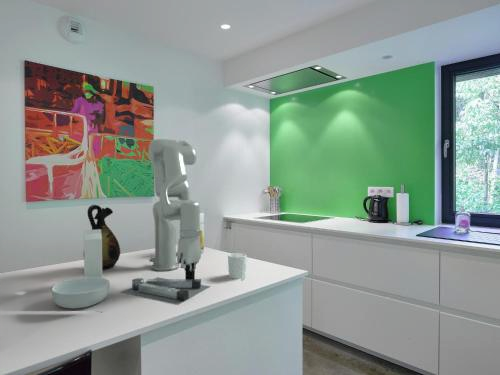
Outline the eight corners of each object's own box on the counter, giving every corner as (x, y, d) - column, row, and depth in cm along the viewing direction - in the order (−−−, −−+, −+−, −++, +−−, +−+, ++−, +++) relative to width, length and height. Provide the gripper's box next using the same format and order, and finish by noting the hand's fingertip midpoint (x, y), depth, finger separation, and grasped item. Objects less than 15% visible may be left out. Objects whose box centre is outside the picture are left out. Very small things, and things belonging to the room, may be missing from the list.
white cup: (244, 282, 132) (244, 257, 132) (225, 280, 134) (225, 256, 134) (248, 276, 140) (248, 253, 140) (230, 275, 142) (230, 252, 141)
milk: (102, 287, 125) (102, 230, 125) (84, 289, 122) (84, 231, 122) (100, 282, 131) (100, 228, 130) (84, 284, 128) (83, 229, 127)
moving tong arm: (130, 289, 119) (130, 281, 119) (135, 285, 124) (135, 277, 124) (198, 290, 119) (198, 281, 119) (200, 285, 124) (200, 277, 124)
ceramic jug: (104, 263, 160) (103, 202, 159) (127, 267, 153) (127, 204, 152) (72, 272, 144) (71, 205, 144) (96, 277, 138) (95, 206, 137)
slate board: (119, 295, 117) (119, 292, 117) (157, 279, 135) (157, 277, 135) (178, 307, 106) (178, 304, 106) (210, 289, 124) (210, 286, 124)
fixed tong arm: (138, 291, 117) (138, 284, 117) (143, 289, 119) (143, 282, 119) (183, 300, 108) (183, 293, 108) (188, 298, 111) (188, 290, 111)
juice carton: (194, 256, 176) (194, 211, 175) (184, 254, 180) (184, 211, 180) (206, 252, 184) (206, 210, 183) (195, 251, 188) (195, 209, 187)
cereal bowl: (49, 320, 96) (49, 296, 96) (53, 301, 111) (53, 280, 111) (111, 309, 104) (111, 287, 104) (107, 293, 119) (107, 274, 119)
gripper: (192, 230, 135) (193, 274, 135) (169, 235, 121) (170, 284, 121) (208, 231, 131) (208, 276, 132) (186, 237, 118) (186, 287, 118)
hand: (190, 280), depth 127 cm, fingers closed
